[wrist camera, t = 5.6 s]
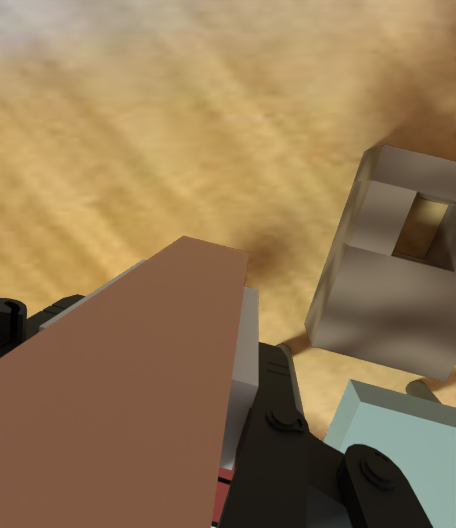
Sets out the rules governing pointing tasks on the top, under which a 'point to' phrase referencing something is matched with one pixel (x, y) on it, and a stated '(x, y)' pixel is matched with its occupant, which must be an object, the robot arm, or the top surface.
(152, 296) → the peg
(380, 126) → the top surface
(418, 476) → the miniature side table
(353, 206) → the socket block
